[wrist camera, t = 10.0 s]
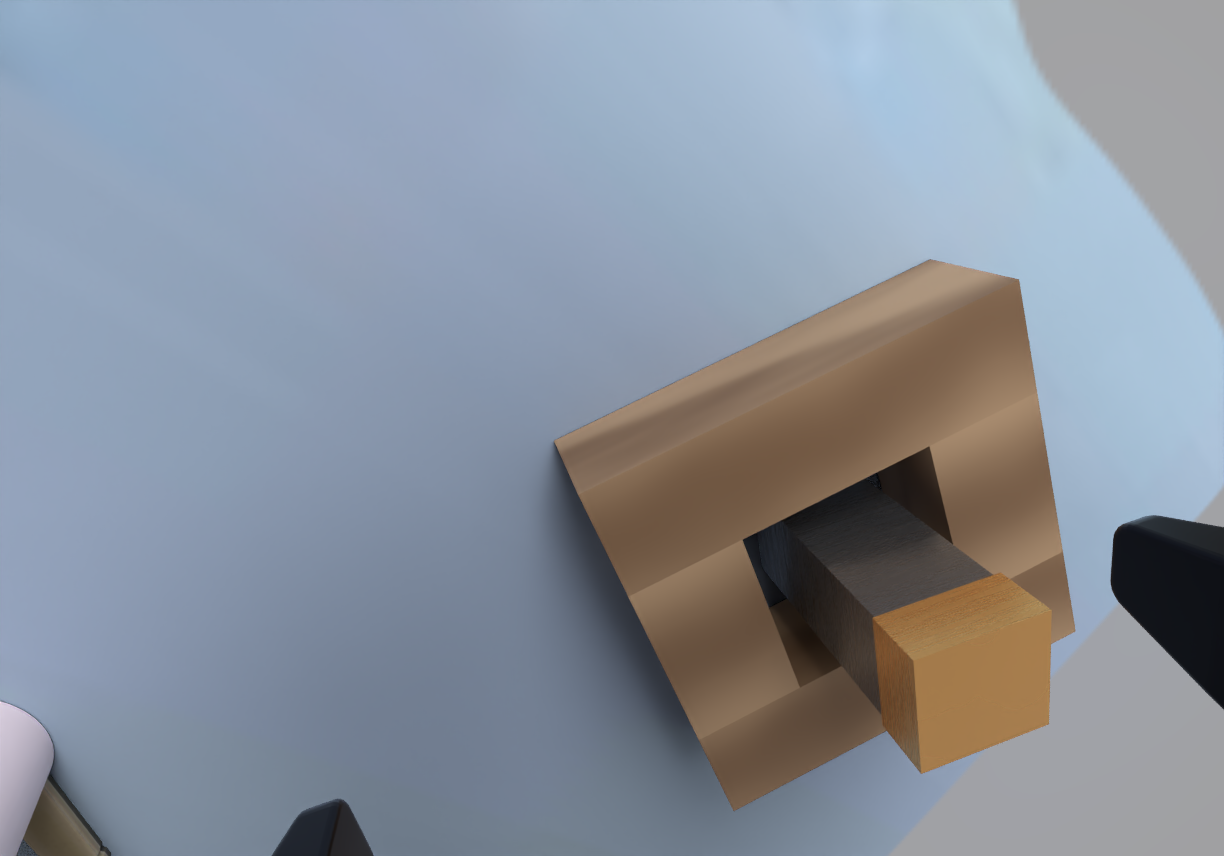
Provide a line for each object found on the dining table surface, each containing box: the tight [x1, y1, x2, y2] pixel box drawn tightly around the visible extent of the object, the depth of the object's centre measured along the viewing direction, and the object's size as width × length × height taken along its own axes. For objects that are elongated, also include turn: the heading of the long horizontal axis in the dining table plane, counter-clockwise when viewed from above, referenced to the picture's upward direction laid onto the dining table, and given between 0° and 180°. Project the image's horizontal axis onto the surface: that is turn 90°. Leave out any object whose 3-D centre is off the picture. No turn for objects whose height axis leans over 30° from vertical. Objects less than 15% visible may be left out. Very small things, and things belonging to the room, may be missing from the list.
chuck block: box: [554, 259, 1075, 811], centre depth 22 cm, size 12×12×4 cm
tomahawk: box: [23, 774, 111, 856], centre depth 21 cm, size 21×7×1 cm, turn 13°
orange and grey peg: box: [757, 479, 1052, 774], centre depth 20 cm, size 3×3×8 cm
